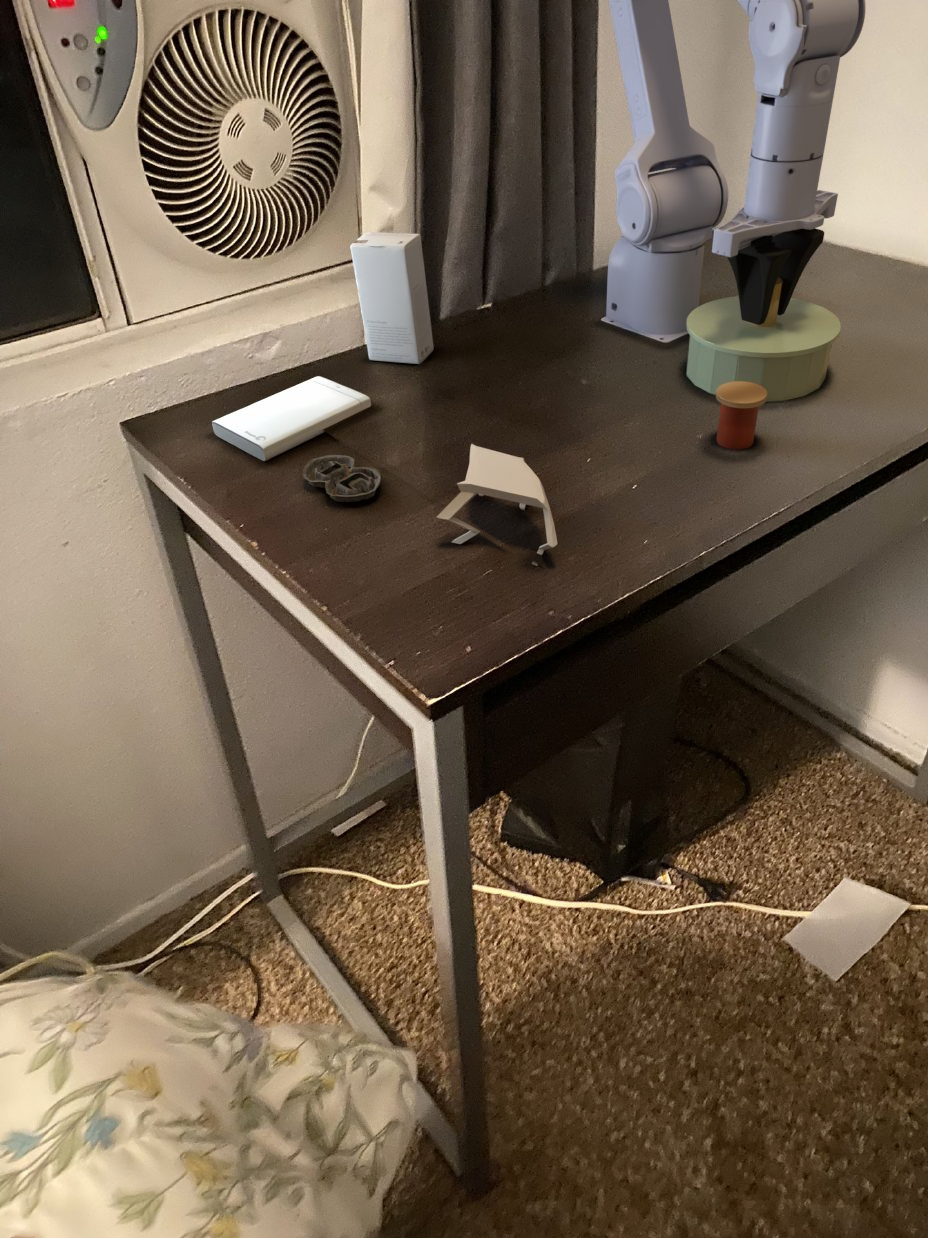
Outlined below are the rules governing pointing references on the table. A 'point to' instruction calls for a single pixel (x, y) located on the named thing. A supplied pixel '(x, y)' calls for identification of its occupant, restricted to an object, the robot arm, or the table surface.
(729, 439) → the spool
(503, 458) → the beige angled stand
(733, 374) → the tin
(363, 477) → the corroded twin loop
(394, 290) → the cosmetic box
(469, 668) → the table surface
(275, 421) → the hard drive
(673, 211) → the robot arm
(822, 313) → the lid
